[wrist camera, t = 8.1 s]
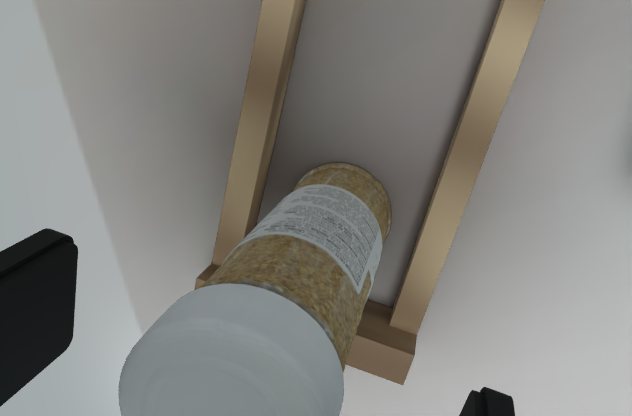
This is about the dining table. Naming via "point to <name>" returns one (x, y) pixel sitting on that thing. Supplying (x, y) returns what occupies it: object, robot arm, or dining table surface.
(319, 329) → the sprinkles bottle
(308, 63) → the dining table surface
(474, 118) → the oak rail
